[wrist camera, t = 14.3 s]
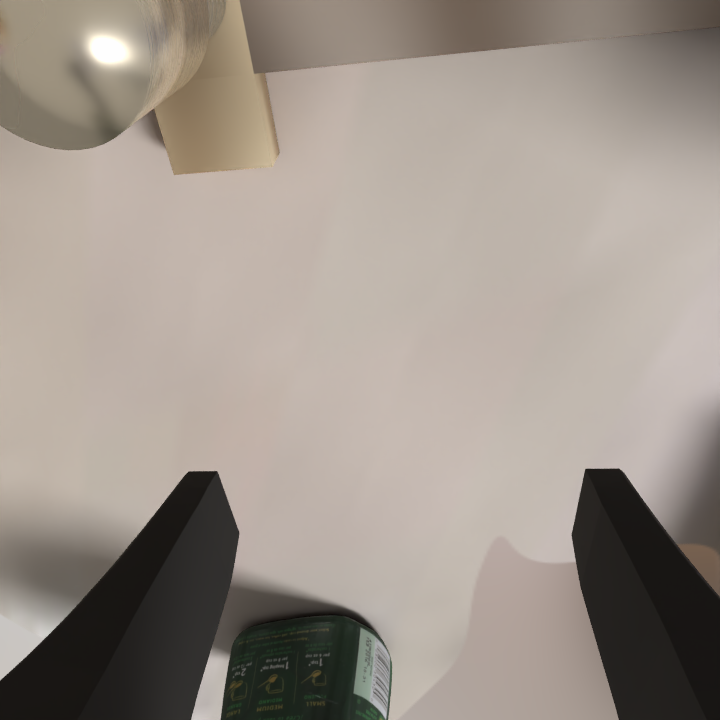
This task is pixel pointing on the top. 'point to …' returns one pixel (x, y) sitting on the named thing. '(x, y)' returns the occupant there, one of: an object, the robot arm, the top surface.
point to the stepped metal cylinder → (95, 64)
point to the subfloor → (368, 55)
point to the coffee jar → (308, 672)
